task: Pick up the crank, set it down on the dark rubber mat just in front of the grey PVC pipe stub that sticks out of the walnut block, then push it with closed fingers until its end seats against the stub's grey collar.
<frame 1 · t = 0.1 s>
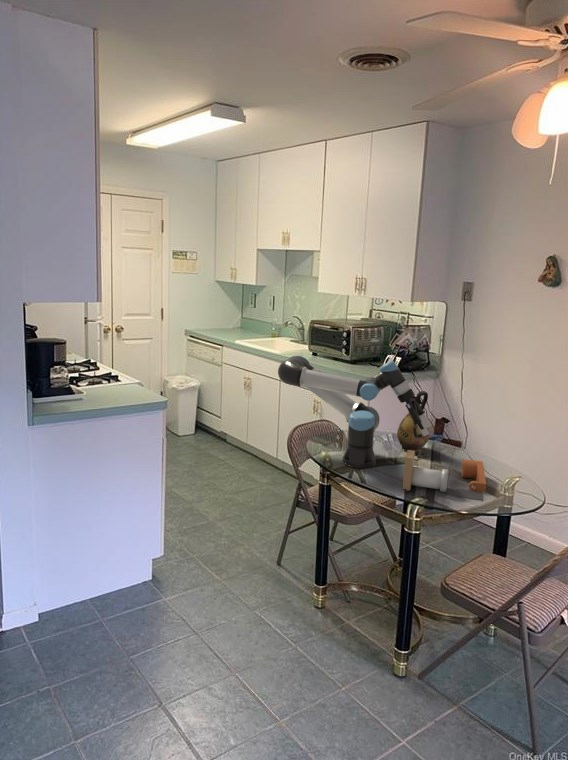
hand: (427, 430, 267), 15 cm above the table, tool tilted 35°, fingers open, 13 cm apart
gasket mat: (464, 494, 235), on the table
pipe stub: (407, 485, 242), on the table
ceramic jug: (412, 449, 288), on the table
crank: (472, 483, 248), on the table
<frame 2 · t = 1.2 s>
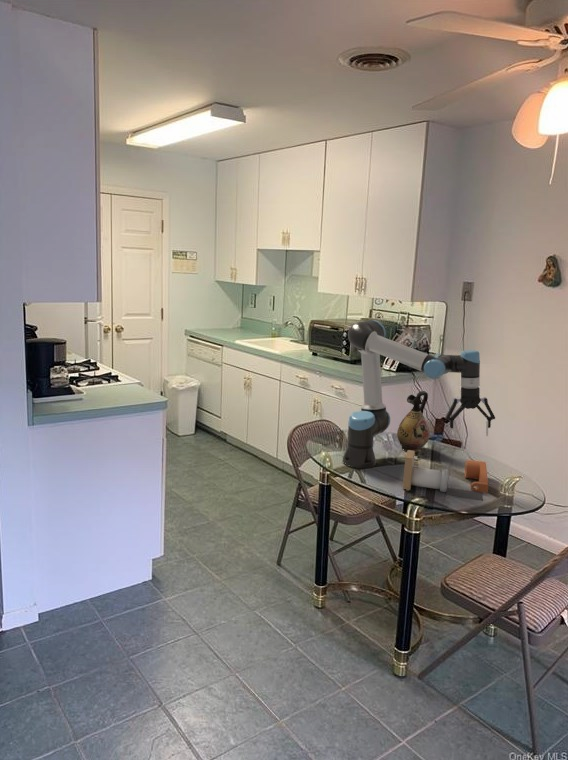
hand: (470, 435, 248), 20 cm above the table, tool pointing down, fingers open, 13 cm apart
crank: (475, 483, 248), on the table
everything else where it was.
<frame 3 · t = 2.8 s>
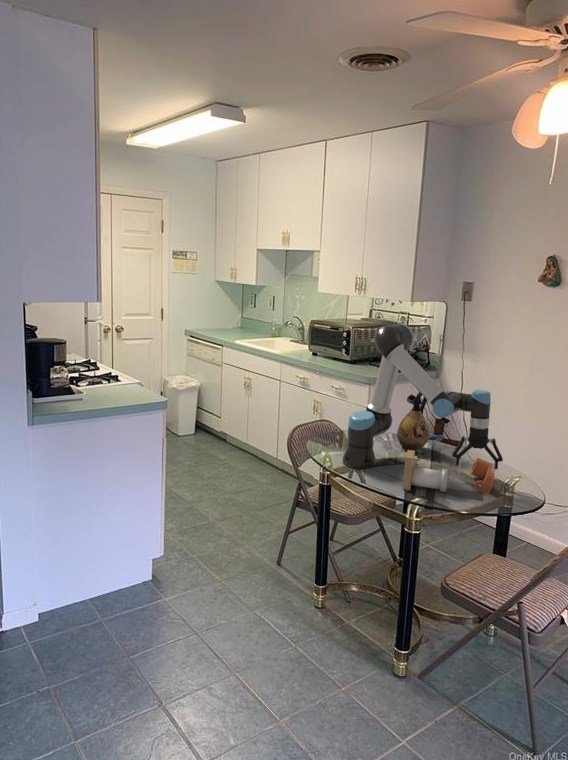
hand: (476, 474, 247), 4 cm above the table, tool pointing down, fingers open, 13 cm apart
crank: (478, 482, 247), on the table, touching gripper
everything else where it was.
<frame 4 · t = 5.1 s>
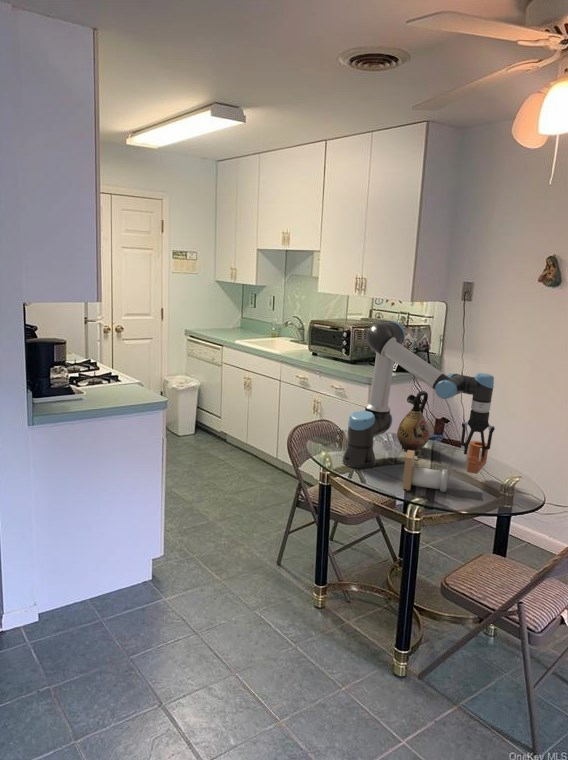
hand: (472, 462, 247), 9 cm above the table, tool pointing down, fingers closed on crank, 4 cm apart
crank: (467, 455, 246), point 12 cm above the table, touching gripper
everything else where it was.
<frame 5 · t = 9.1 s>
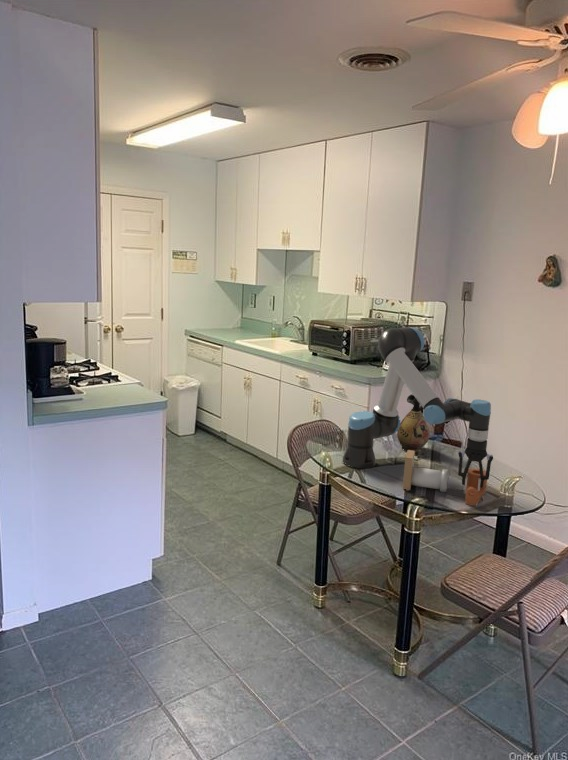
hand: (471, 493, 234), 1 cm above the table, tool pointing down, fingers closed on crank, 4 cm apart
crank: (466, 484, 234), point 4 cm above the table, touching gasket mat, gripper
everything else where it was.
when the fingers open (1 cm above the table, at t = 9.2 s): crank stays where it is, resting on gasket mat.
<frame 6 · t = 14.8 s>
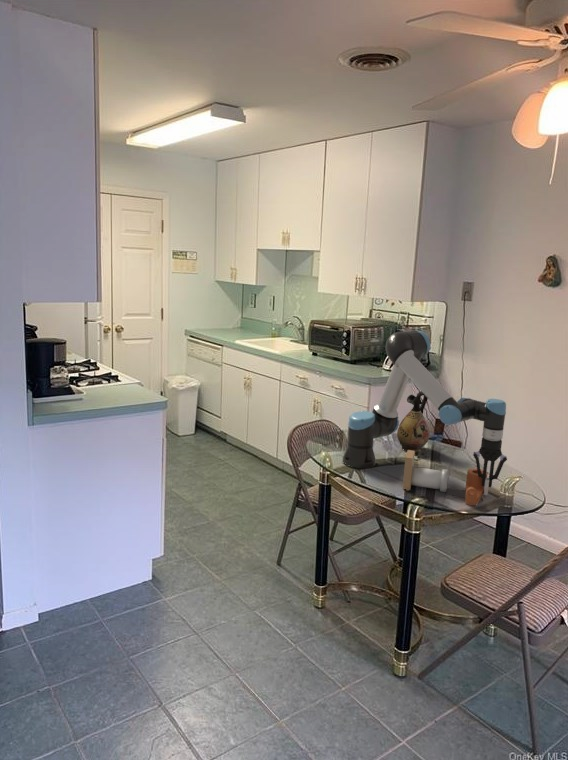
hand: (485, 493, 233), 1 cm above the table, tool pointing down, fingers closed
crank: (465, 484, 234), point 4 cm above the table, touching gasket mat, gripper
everything else where it was.
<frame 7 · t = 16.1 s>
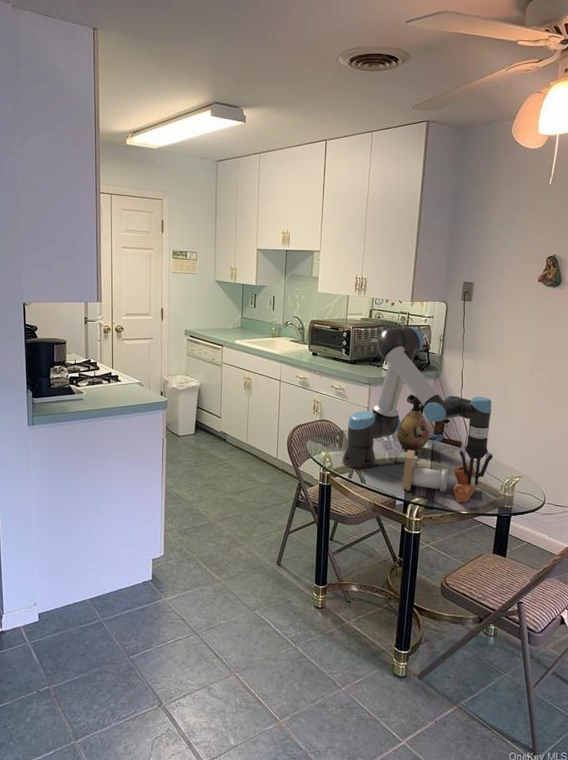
hand: (471, 491, 234), 2 cm above the table, tool pointing down, fingers closed
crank: (455, 484, 235), point 4 cm above the table, touching gasket mat
everything else where it was.
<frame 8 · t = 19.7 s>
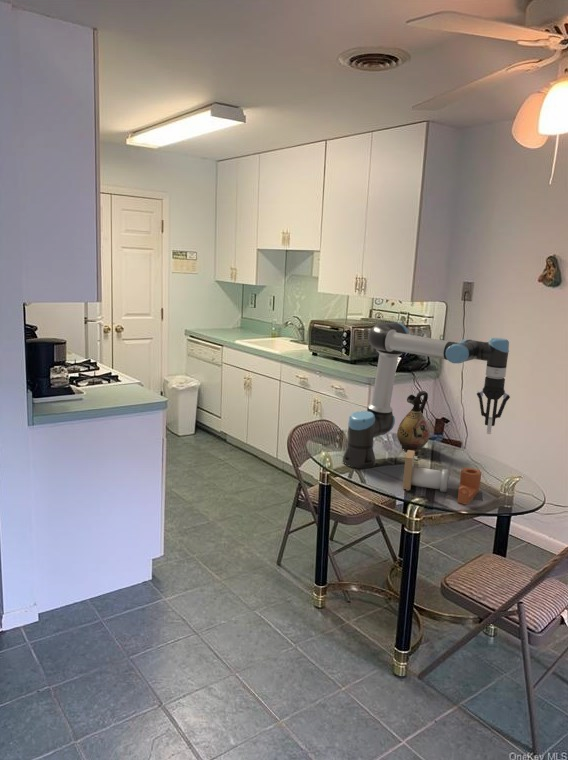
hand: (488, 433, 236), 24 cm above the table, tool pointing down, fingers closed
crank: (459, 483, 234), point 4 cm above the table, touching gasket mat
everything else where it was.
at the end: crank inside the target area (0.5 cm from its centre), point 4.3 cm above the table; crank moved 17.1 cm from its start; the gripper is holding nothing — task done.
